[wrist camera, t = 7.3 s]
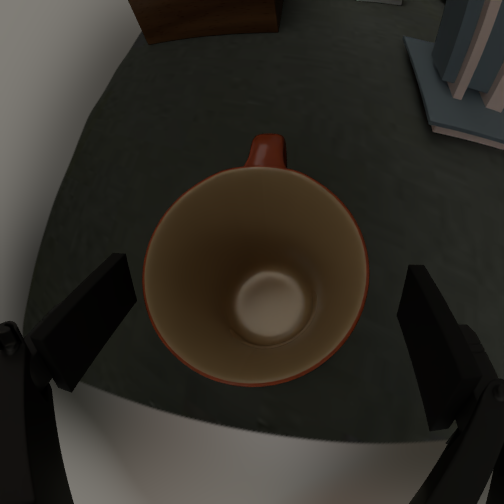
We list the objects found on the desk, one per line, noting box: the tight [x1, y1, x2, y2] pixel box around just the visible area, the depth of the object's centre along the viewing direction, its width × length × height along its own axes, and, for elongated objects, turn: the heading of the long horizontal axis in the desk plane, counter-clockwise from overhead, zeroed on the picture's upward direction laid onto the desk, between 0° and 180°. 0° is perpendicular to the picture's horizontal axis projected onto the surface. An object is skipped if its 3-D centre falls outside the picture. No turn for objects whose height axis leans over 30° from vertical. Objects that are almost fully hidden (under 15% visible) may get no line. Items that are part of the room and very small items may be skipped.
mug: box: [142, 134, 369, 387], centre depth 17 cm, size 12×9×10 cm
